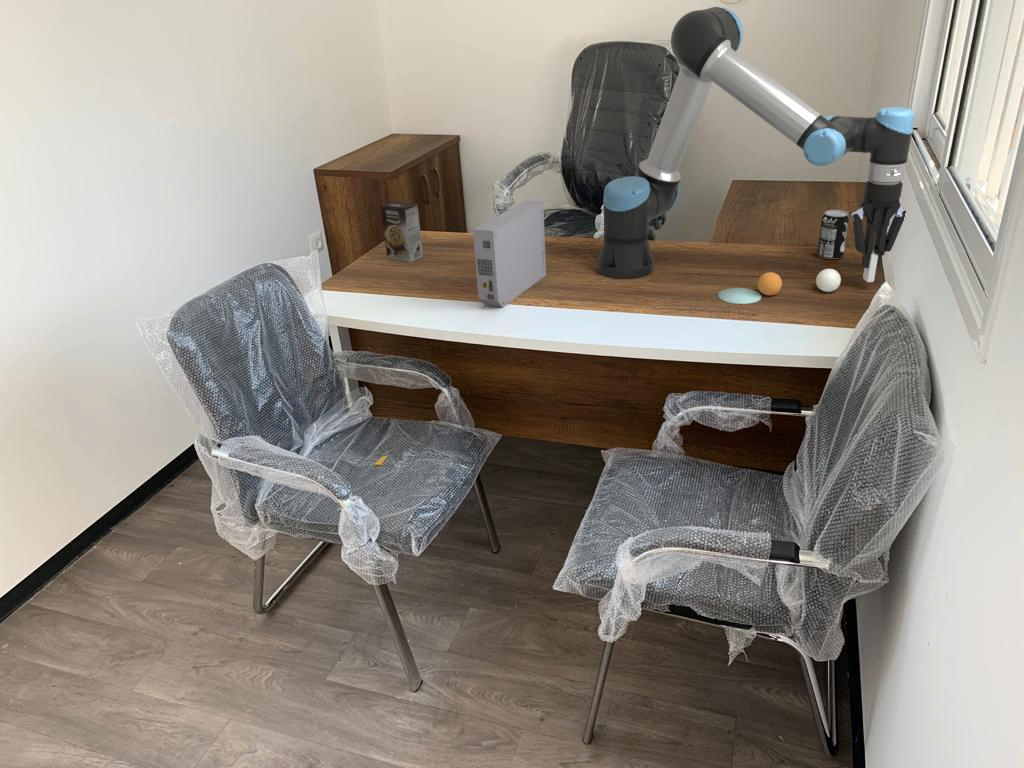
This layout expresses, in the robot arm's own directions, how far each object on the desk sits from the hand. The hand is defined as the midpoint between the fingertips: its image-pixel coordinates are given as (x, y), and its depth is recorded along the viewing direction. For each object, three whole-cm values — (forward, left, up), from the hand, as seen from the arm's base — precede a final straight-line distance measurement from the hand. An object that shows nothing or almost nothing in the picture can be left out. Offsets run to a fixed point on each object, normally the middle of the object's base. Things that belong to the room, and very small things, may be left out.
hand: (868, 279), depth 182 cm
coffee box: (-117, +45, -3) cm, 125 cm away
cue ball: (-10, 0, 0) cm, 10 cm away
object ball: (-24, 0, 0) cm, 24 cm away
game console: (-85, +13, -3) cm, 86 cm away
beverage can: (0, +24, -3) cm, 24 cm away
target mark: (-31, 0, -2) cm, 31 cm away
